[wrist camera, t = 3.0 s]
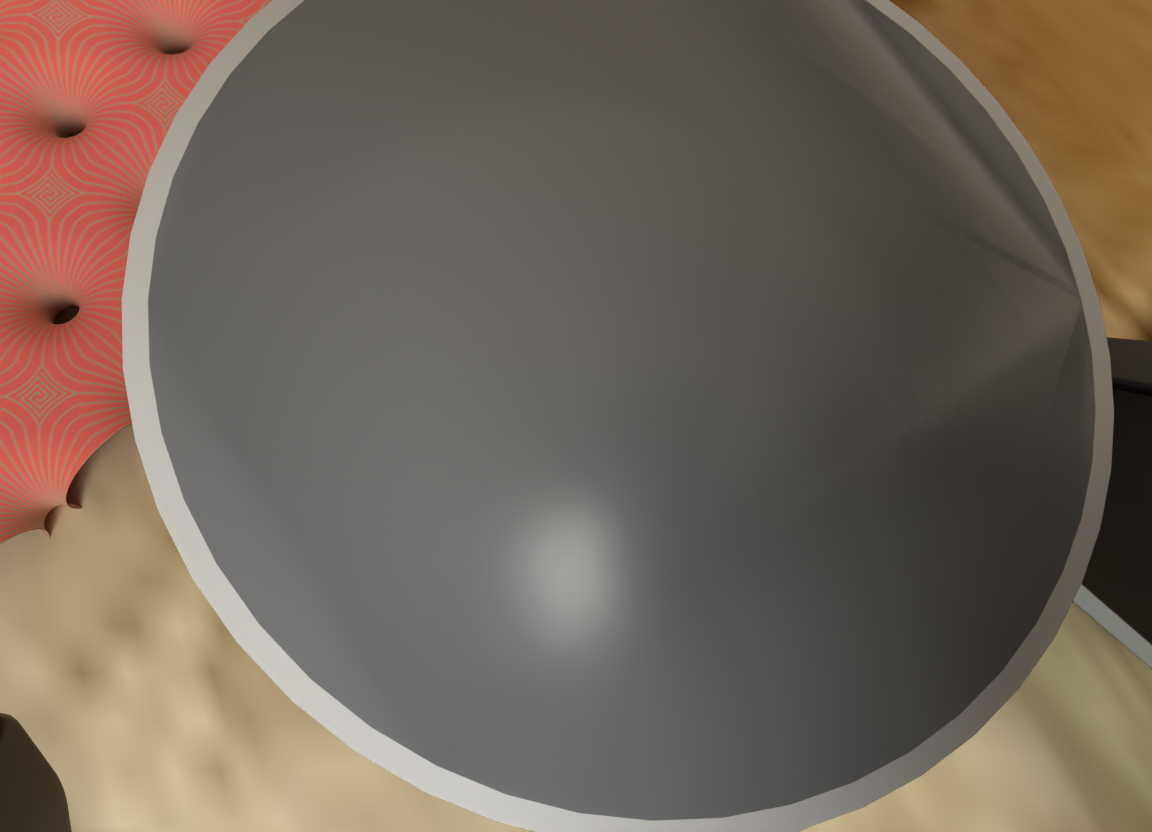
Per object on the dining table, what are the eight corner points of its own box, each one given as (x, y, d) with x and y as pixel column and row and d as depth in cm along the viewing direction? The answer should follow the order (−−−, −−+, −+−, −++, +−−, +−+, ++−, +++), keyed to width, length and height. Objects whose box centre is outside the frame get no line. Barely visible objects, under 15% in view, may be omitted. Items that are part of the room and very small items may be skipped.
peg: (472, 797, 16) (758, 1131, 3) (269, 611, 16) (-145, 297, 4) (641, 588, 17) (1254, 300, 5) (454, 422, 17) (601, -243, 5)
